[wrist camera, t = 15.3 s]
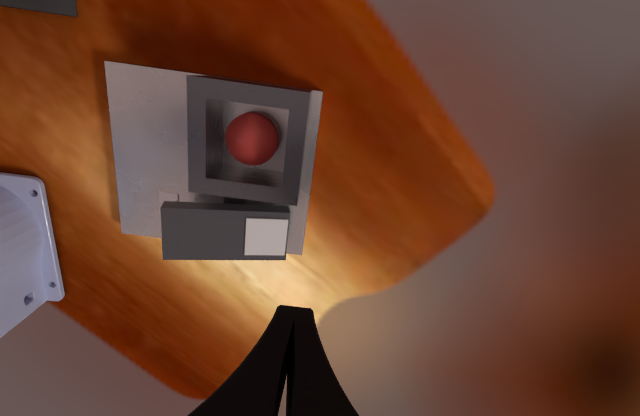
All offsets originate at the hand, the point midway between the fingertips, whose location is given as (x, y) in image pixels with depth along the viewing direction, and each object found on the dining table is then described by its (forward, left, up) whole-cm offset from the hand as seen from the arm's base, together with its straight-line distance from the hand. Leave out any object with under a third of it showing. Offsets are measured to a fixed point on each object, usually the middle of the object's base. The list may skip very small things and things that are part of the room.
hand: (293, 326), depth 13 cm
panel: (+3, +6, -10) cm, 12 cm away
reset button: (+6, +4, -9) cm, 11 cm away
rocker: (0, +5, -7) cm, 8 cm away
